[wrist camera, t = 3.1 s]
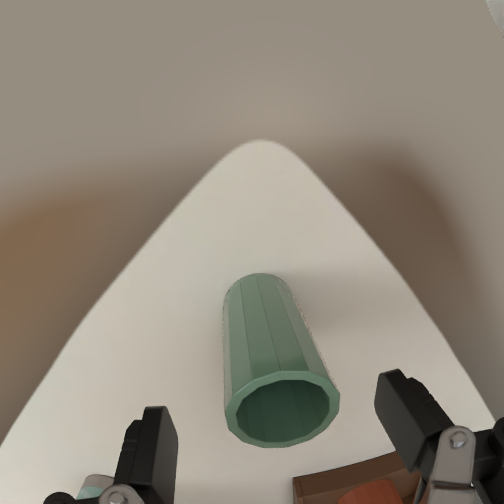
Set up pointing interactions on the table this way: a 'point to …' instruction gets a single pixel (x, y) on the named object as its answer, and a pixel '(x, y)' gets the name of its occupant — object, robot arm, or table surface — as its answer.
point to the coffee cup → (94, 486)
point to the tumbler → (373, 494)
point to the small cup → (273, 367)
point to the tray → (355, 480)
